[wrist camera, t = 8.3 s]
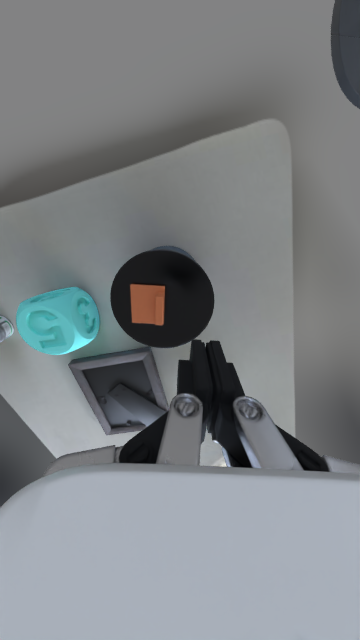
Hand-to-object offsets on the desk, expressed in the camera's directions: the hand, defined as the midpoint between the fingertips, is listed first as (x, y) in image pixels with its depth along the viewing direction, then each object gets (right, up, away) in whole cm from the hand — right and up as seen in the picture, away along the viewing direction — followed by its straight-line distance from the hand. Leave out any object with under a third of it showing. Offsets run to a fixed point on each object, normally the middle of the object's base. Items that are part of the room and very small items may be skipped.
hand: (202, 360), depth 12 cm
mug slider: (-5, +4, +9) cm, 11 cm away
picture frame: (-13, -13, +30) cm, 35 cm away
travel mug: (-3, +9, +19) cm, 22 cm away
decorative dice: (-20, +4, +22) cm, 30 cm away
